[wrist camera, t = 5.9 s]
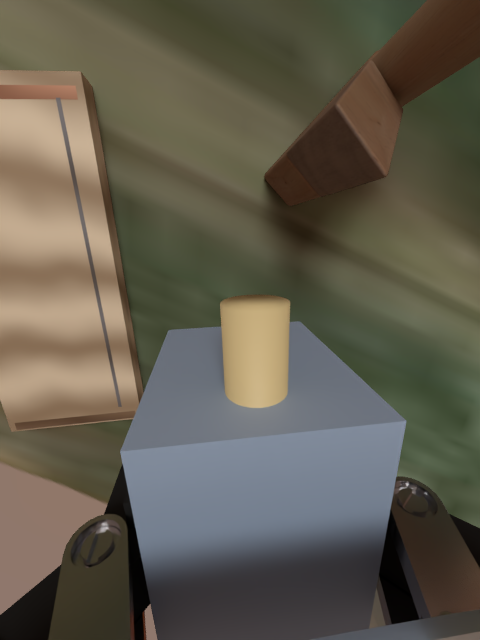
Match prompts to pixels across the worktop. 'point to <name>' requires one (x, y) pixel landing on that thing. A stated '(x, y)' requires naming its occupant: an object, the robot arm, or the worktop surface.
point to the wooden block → (377, 104)
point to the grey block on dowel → (259, 481)
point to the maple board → (60, 261)
